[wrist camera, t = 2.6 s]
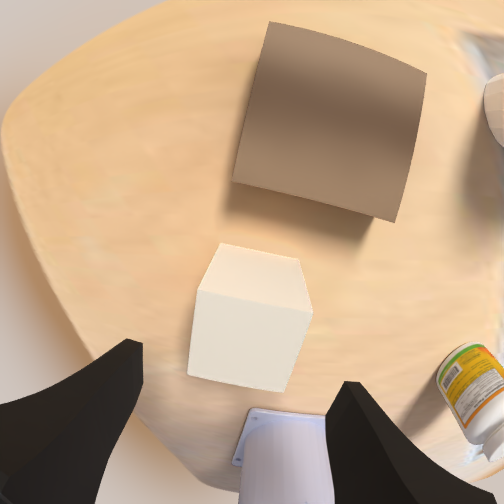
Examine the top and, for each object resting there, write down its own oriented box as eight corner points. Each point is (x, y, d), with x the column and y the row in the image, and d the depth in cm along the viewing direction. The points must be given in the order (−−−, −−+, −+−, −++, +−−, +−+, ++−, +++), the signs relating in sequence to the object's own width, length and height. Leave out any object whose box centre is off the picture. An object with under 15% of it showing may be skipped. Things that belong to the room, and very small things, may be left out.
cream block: (279, 324, 18) (283, 392, 13) (208, 310, 18) (186, 374, 13) (298, 259, 17) (313, 312, 11) (220, 242, 17) (197, 289, 11)
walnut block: (374, 210, 16) (394, 223, 13) (237, 176, 16) (231, 181, 13) (403, 83, 13) (426, 73, 11) (269, 42, 13) (269, 21, 10)
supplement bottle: (482, 369, 19) (530, 438, 10) (435, 397, 20) (476, 477, 11) (484, 328, 18) (547, 401, 9) (432, 360, 19) (486, 449, 10)
